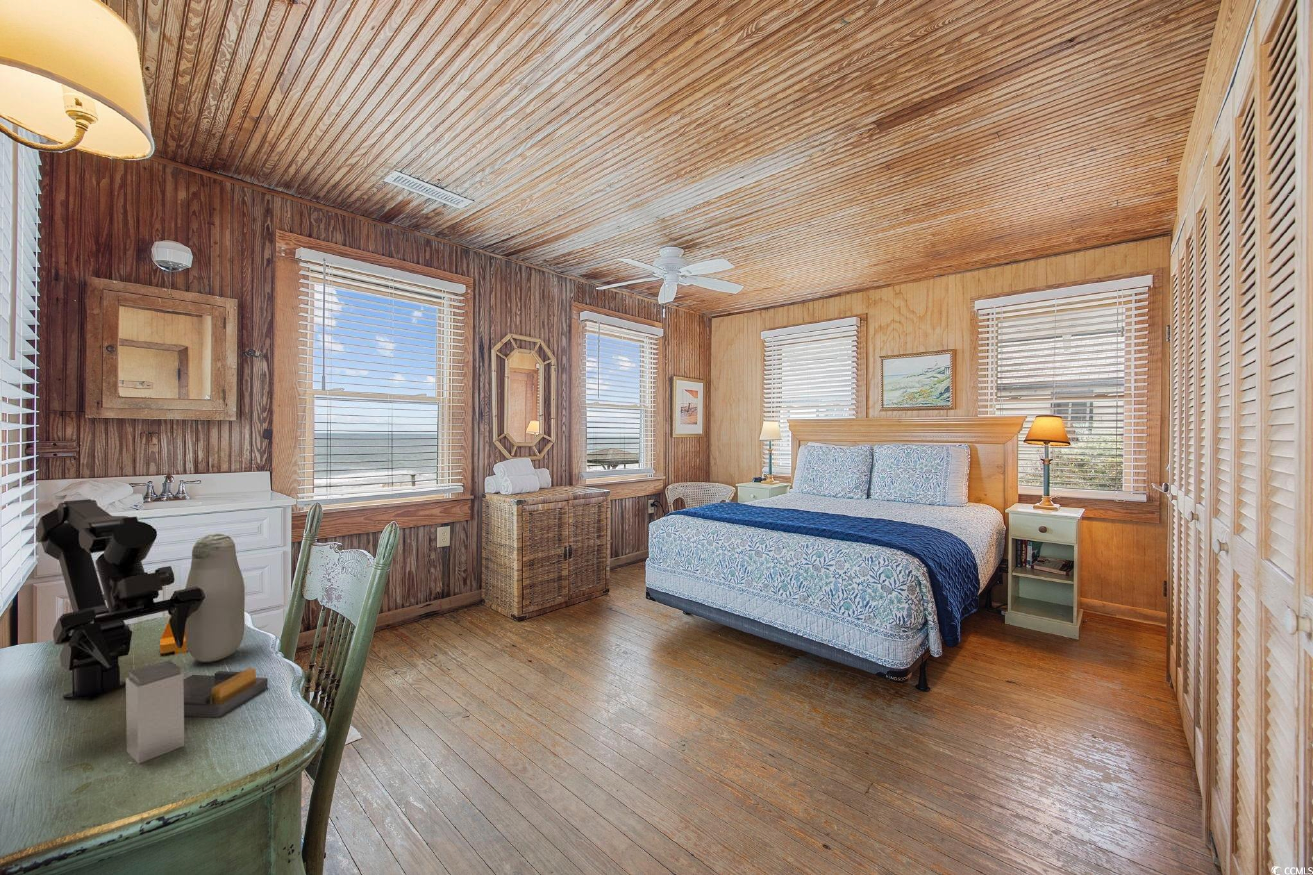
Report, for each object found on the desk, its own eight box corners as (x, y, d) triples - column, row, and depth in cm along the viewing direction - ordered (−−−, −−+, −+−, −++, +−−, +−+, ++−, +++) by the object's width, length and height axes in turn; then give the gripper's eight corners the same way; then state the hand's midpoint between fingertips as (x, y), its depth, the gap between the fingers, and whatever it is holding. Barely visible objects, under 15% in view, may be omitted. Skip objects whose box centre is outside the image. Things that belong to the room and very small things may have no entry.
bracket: (159, 657, 122) (158, 604, 122) (161, 647, 128) (160, 596, 128) (220, 645, 129) (220, 595, 129) (220, 636, 135) (219, 588, 134)
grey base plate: (136, 713, 99) (136, 688, 99) (193, 684, 110) (192, 662, 110) (219, 717, 97) (218, 692, 97) (267, 687, 108) (267, 665, 108)
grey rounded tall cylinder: (200, 652, 125) (198, 531, 124) (252, 647, 128) (251, 529, 127) (175, 671, 115) (173, 540, 115) (232, 665, 118) (230, 537, 118)
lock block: (126, 751, 87) (125, 671, 87) (171, 734, 92) (170, 659, 92) (138, 763, 84) (137, 680, 84) (184, 745, 89) (183, 667, 89)
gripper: (58, 566, 87) (81, 653, 82) (201, 544, 103) (227, 616, 98) (43, 602, 91) (64, 687, 86) (183, 575, 107) (207, 646, 102)
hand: (147, 656), depth 93 cm, fingers open, 9 cm apart
